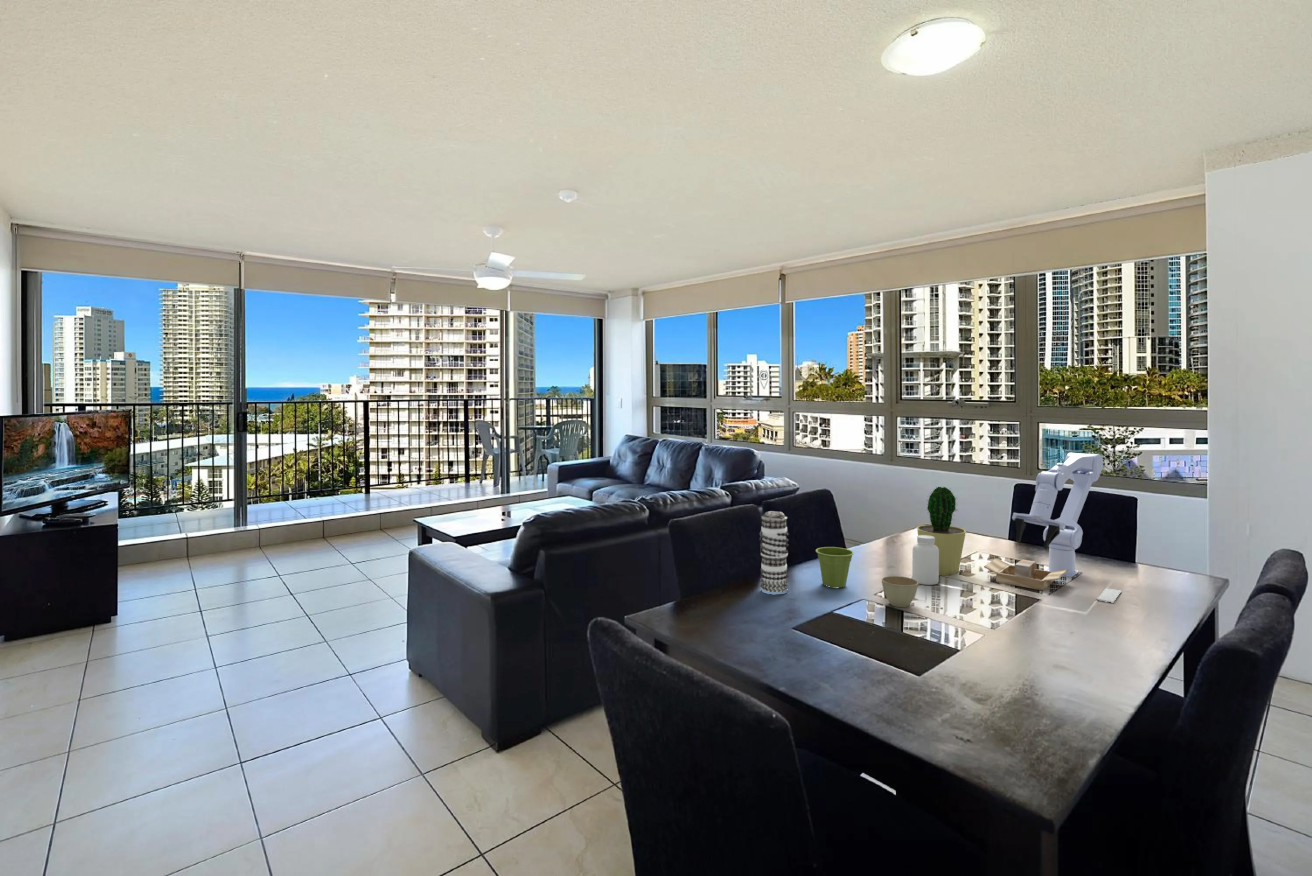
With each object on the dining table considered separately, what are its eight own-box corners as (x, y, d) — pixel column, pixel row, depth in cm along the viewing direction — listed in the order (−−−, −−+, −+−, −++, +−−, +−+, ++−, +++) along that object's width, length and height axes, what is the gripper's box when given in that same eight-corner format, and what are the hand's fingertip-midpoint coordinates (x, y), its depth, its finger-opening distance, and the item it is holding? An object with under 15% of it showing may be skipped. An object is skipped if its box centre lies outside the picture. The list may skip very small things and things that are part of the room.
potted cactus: (918, 575, 210) (920, 487, 208) (913, 563, 225) (915, 481, 223) (968, 579, 206) (970, 489, 204) (960, 566, 220) (962, 482, 218)
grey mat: (1075, 584, 199) (1075, 582, 199) (1121, 592, 190) (1121, 590, 190) (1064, 594, 189) (1064, 593, 189) (1113, 603, 180) (1113, 601, 180)
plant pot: (858, 591, 195) (858, 555, 194) (820, 591, 195) (820, 555, 194) (847, 579, 206) (847, 546, 206) (811, 580, 207) (811, 546, 206)
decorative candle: (787, 586, 200) (787, 509, 198) (790, 596, 191) (790, 515, 189) (758, 586, 201) (758, 509, 199) (760, 595, 191) (760, 515, 190)
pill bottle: (933, 578, 207) (934, 534, 206) (942, 586, 199) (943, 539, 198) (908, 578, 208) (909, 533, 206) (916, 585, 200) (917, 539, 199)
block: (1021, 577, 205) (1021, 559, 204) (1035, 579, 202) (1035, 561, 202) (1014, 582, 199) (1014, 564, 199) (1028, 585, 196) (1029, 566, 196)
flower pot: (921, 611, 176) (921, 586, 175) (884, 609, 178) (884, 584, 177) (914, 599, 186) (914, 576, 185) (879, 598, 188) (879, 574, 187)
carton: (995, 572, 213) (996, 558, 212) (1067, 585, 198) (1068, 569, 198) (983, 581, 203) (983, 566, 203) (1057, 594, 189) (1058, 578, 188)
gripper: (1015, 496, 203) (1003, 535, 200) (1066, 506, 193) (1055, 547, 190) (1019, 505, 208) (1008, 542, 205) (1070, 514, 198) (1059, 554, 195)
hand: (1031, 545), depth 198 cm, fingers open, 7 cm apart
